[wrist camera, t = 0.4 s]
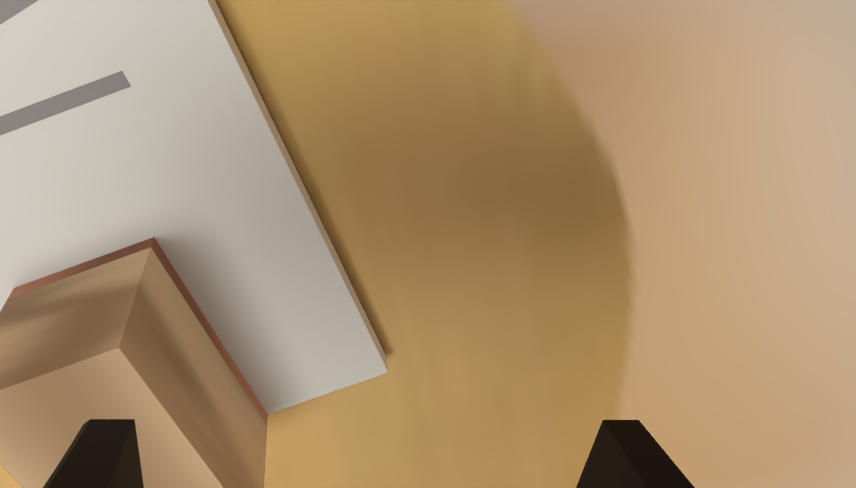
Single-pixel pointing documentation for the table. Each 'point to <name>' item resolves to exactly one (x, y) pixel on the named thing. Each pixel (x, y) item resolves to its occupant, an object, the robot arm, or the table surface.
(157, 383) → the block
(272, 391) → the board
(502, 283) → the table surface
